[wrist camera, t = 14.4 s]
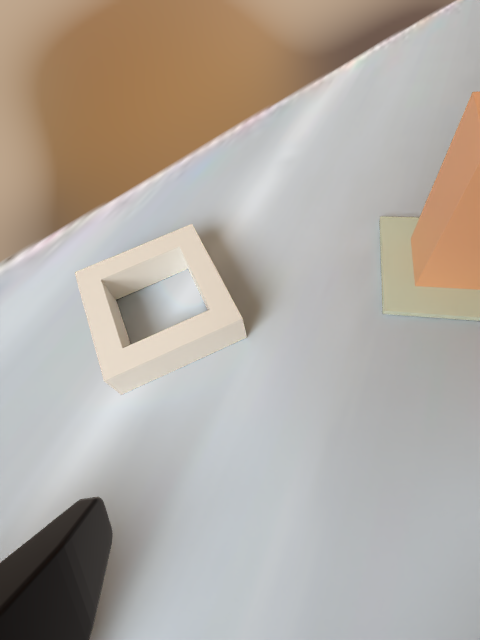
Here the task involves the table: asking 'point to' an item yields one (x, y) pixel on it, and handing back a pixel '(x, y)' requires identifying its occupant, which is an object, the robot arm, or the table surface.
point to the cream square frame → (172, 343)
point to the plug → (453, 213)
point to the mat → (401, 285)
